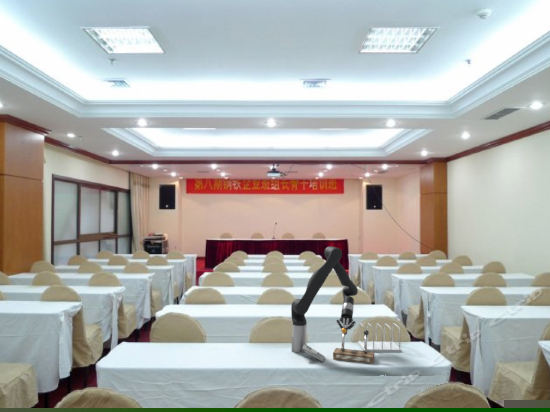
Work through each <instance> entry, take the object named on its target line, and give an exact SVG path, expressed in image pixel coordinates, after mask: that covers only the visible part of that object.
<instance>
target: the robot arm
mask: <svg viewBox="0 0 550 412" xmlns="http://www.w3.org/2000/svg"><path fill="white" fill-rule="evenodd" d="M342 252H343V251H342V249H340V248H339V247H335V246H331V245H330V246H327V247H326V248H325V249H324V256H325V258H326V261H325V262H324V263H323V265H321V266H320V267H319V268H317V269H316V270H315V271H314V272H313V273H312V275H311V276H310V278H309V279H308V282H307V285H306V290H305V292H304V294H303V295H302V296H301V298H296V299H294V300H293V301H292V303H291V307H290V309H291V310H290V311H291V314H290V315H291V323H292V336H291V352H294V353H298V354H300V353H302V354H303V353H307V352H306V351H304V350H302V348H303V346H304V344H306V345H307V340H308V339H307V330H308V329H307V319H306V317H305V314H307V312H308V310H309V309H310V307H311V305H312V303H313V301H314V299H315V298H316V297H317V295H318V292H319V291H320V289H322V287H323V285H324V283H325V281H326V280H327V278H328V277H329V275H330V274H331V273H332V270H334V273H335V274H336V276H337V278H338V281H339V283H340V285H341V286H343V288H342V291H341V292H342V296H343V301H342V302H343V303H342V305H341V306H342V308H341V315H340V317H339V319H336V323H337V325H338V326H339V328H340V329H341V330H342V328H345V329H346V333H345V336H346V335H347V334H348V330H351V329H352V328H354V326H355V325H356V321H355V320H354V318H353V315H354V303H355V299H354V297H353V296H357V295H358V293H359V291H358V288H357V286H356V285H355V283H354V282H353V281H352V280H351V279H350V276H349V274H348V272H347V271H346V269H345V267H343V265H342V264H341V263H340V260H341V258H342V257H343V256H342V255H343V253H342ZM307 346H308V345H307Z"/></svg>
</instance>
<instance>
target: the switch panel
mask: <svg viewBox="0 0 550 412" xmlns="http://www.w3.org/2000/svg"><path fill="white" fill-rule="evenodd" d="M341 348H342V347H341ZM341 348H339V347H336V348H335V349H334V350H333V352H332V359H333V360H336V361H337V360H338V361H346V362H355V363H365V364H371V365H372V364H374V361H375V352H370V351H367V353H364V351H363V350H362V349H361V350H360V349H359V350H357V349H350V348H344V351H342V350H341Z"/></svg>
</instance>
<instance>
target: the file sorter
mask: <svg viewBox="0 0 550 412" xmlns="http://www.w3.org/2000/svg"><path fill="white" fill-rule="evenodd" d="M366 325H367V327H365V326H364V325H363V323H359V327H361V326H362V328H363V332H364V331H365V330H368V331H369V326H370V327H371V328H372V331H373V332H372V341H369V334H368V335H367V351H370V352H374V353H402V349H401V328H400V326H399V325H397V324H396V323H395V322H393V323H392V327H395V326H396V327H397V328H398V331H399V334H398V336H399V337H398V338H399V340H398V341H399V342H398V345H397V343H396V342H395V341H394V328H391V326H389V324H388V323H384V326H383V327H382V326H381V325H380V324H379V323H378V322H377V323H375V329H374V326H373V325H371V324H370V323H369V322H368V323H367V324H366ZM386 326H387V327H388V329H389V331H390V334H389V335H390V337H389V338H390V339H389V341H386ZM378 327H380V328H381V341H377V340H378V338H377V337H378V336H377V335H378ZM366 328H367V329H366ZM358 331H359V340H358V341H357V344H358V346H359V347H360V349H361V351H364V342H365V335H364V334H363V336H364V338H363V339H364V340H363V341H361V330H358Z"/></svg>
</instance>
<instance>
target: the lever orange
mask: <svg viewBox="0 0 550 412" xmlns="http://www.w3.org/2000/svg"><path fill="white" fill-rule="evenodd" d="M345 328H346V327H345ZM345 328H342V329H341V333H342V335H341V336H342V337H341V350H342V351H344V349H345V339H346V338H345V337H346V335H345V333H346V329H345Z"/></svg>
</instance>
